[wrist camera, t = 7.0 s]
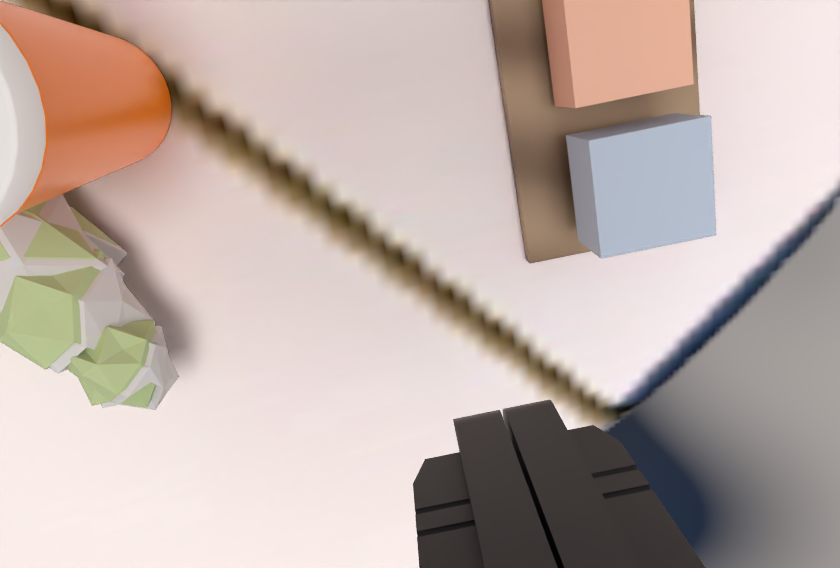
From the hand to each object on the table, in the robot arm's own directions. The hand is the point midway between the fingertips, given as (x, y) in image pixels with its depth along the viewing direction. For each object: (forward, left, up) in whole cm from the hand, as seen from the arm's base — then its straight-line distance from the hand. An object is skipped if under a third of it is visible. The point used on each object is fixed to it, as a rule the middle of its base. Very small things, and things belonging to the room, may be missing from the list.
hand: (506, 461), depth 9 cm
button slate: (+2, +12, -26) cm, 28 cm away
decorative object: (-2, -23, -29) cm, 37 cm away
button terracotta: (-6, +12, -27) cm, 30 cm away
